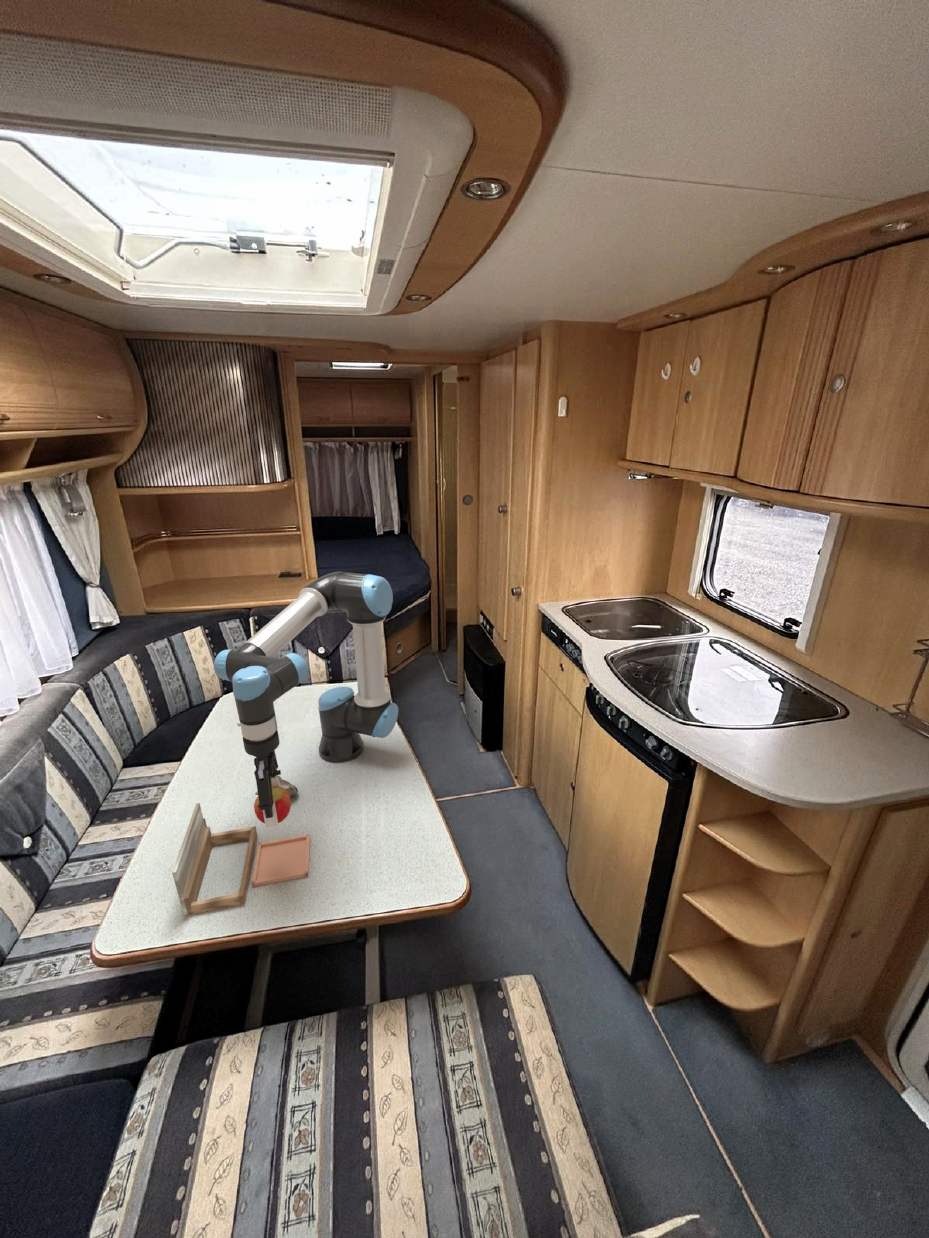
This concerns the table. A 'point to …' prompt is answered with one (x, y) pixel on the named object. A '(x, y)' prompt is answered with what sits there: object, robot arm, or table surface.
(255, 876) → the dish
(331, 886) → the table surface
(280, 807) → the apple
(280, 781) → the rock
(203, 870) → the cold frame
